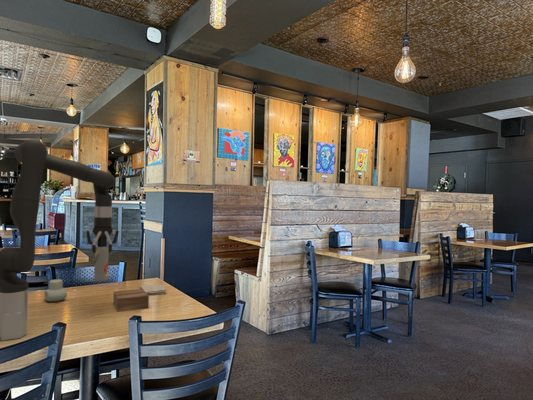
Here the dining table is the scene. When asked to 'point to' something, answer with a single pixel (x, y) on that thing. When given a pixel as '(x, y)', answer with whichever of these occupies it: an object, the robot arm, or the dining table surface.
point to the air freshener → (55, 291)
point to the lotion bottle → (101, 260)
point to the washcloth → (154, 289)
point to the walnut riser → (130, 300)
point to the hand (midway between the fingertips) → (101, 252)
